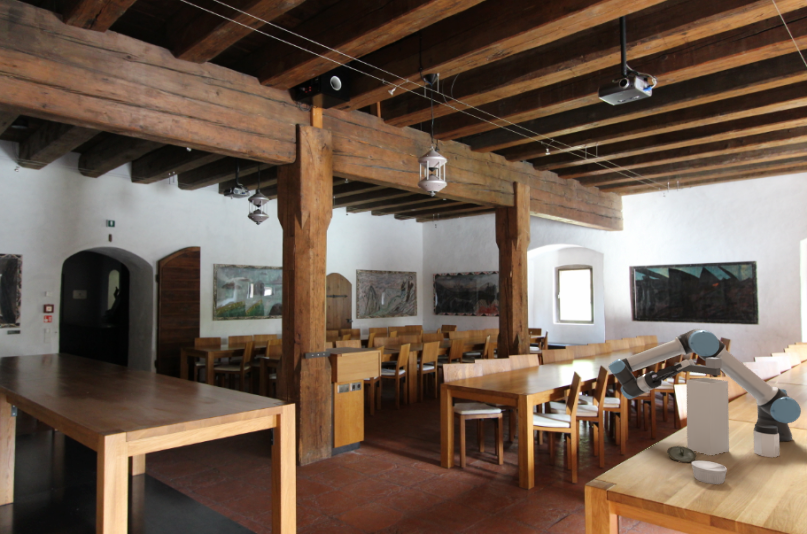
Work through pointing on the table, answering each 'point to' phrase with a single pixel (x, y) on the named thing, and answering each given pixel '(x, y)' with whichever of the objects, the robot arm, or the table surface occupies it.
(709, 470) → the ramekin
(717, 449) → the stand
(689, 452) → the lid
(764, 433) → the jar
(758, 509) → the table surface
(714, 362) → the handle bar
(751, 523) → the table surface
